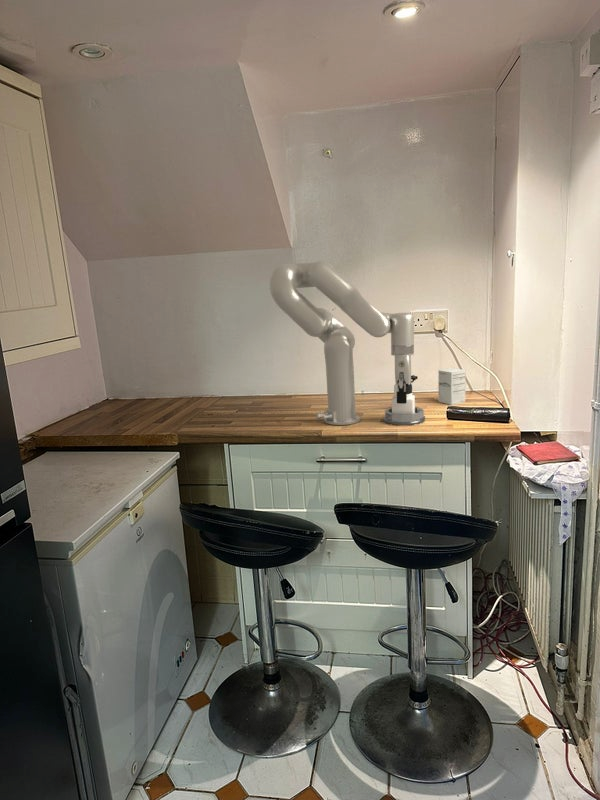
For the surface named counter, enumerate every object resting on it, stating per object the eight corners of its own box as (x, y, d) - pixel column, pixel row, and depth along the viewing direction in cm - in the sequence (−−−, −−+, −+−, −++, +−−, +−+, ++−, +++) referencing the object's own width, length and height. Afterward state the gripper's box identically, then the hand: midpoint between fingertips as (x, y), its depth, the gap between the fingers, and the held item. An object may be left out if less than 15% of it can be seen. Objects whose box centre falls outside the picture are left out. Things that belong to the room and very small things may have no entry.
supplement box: (437, 402, 221) (437, 369, 218) (452, 399, 224) (452, 367, 221) (451, 405, 214) (451, 372, 212) (466, 402, 218) (466, 369, 215)
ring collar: (400, 427, 188) (399, 417, 188) (375, 419, 201) (375, 409, 200) (433, 420, 194) (433, 410, 194) (408, 413, 207) (407, 403, 206)
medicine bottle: (415, 415, 200) (414, 381, 197) (413, 420, 193) (412, 385, 190) (394, 414, 202) (393, 381, 199) (391, 420, 195) (391, 385, 192)
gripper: (412, 353, 183) (412, 406, 187) (414, 346, 200) (414, 394, 203) (389, 354, 185) (389, 405, 189) (392, 346, 201) (393, 394, 205)
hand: (402, 400), depth 196 cm, fingers open, 9 cm apart
